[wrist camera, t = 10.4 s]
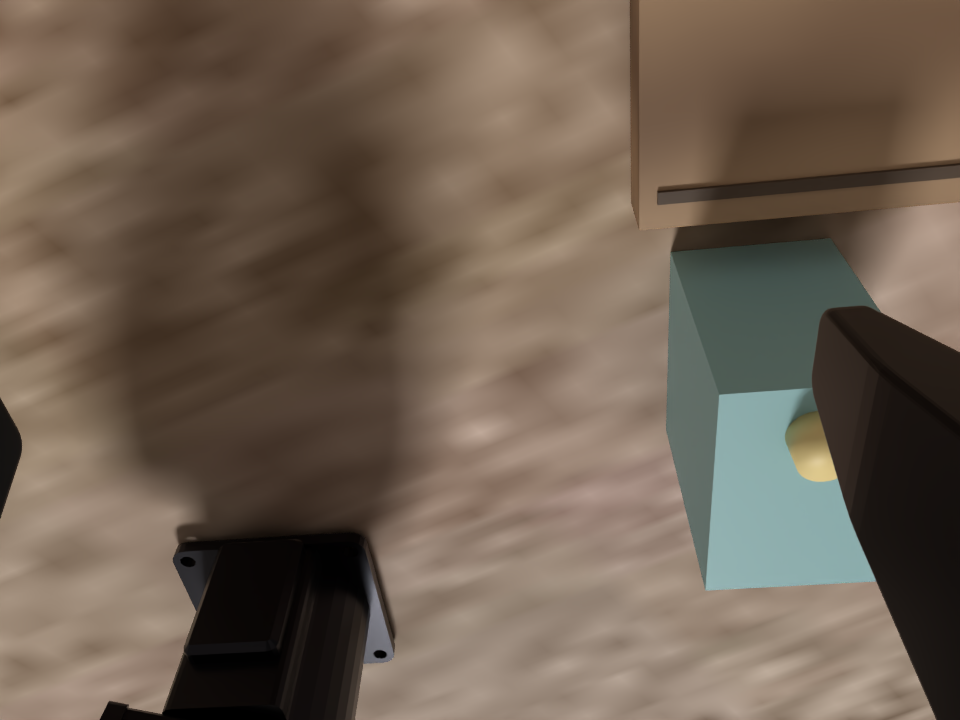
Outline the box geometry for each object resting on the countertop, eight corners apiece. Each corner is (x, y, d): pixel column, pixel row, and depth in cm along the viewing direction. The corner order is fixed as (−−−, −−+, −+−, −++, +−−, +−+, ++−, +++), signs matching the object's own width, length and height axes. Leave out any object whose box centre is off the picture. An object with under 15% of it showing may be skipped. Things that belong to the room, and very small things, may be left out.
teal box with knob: (803, 419, 25) (889, 609, 19) (665, 428, 25) (712, 618, 20) (829, 237, 21) (944, 405, 16) (670, 250, 22) (728, 419, 16)
